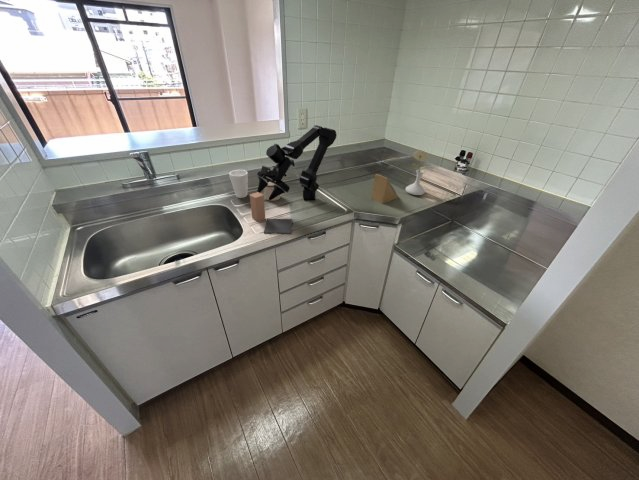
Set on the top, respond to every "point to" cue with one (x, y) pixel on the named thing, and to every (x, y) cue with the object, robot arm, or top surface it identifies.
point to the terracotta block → (257, 206)
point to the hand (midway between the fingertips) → (263, 196)
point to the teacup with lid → (269, 191)
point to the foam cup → (239, 182)
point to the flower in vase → (416, 187)
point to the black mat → (278, 226)
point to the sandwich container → (383, 190)
